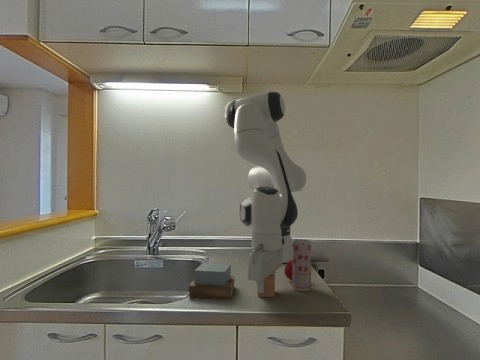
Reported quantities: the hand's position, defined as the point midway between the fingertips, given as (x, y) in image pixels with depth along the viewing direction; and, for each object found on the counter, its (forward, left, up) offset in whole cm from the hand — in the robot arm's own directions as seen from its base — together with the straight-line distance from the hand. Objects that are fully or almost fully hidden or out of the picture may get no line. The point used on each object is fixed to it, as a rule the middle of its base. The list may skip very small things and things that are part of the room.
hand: (266, 288), depth 117 cm
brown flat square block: (0, -16, -2) cm, 16 cm away
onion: (-14, +9, -2) cm, 17 cm away
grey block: (0, -16, +2) cm, 16 cm away
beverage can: (-6, +11, -2) cm, 13 cm away
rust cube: (0, 0, -2) cm, 2 cm away
